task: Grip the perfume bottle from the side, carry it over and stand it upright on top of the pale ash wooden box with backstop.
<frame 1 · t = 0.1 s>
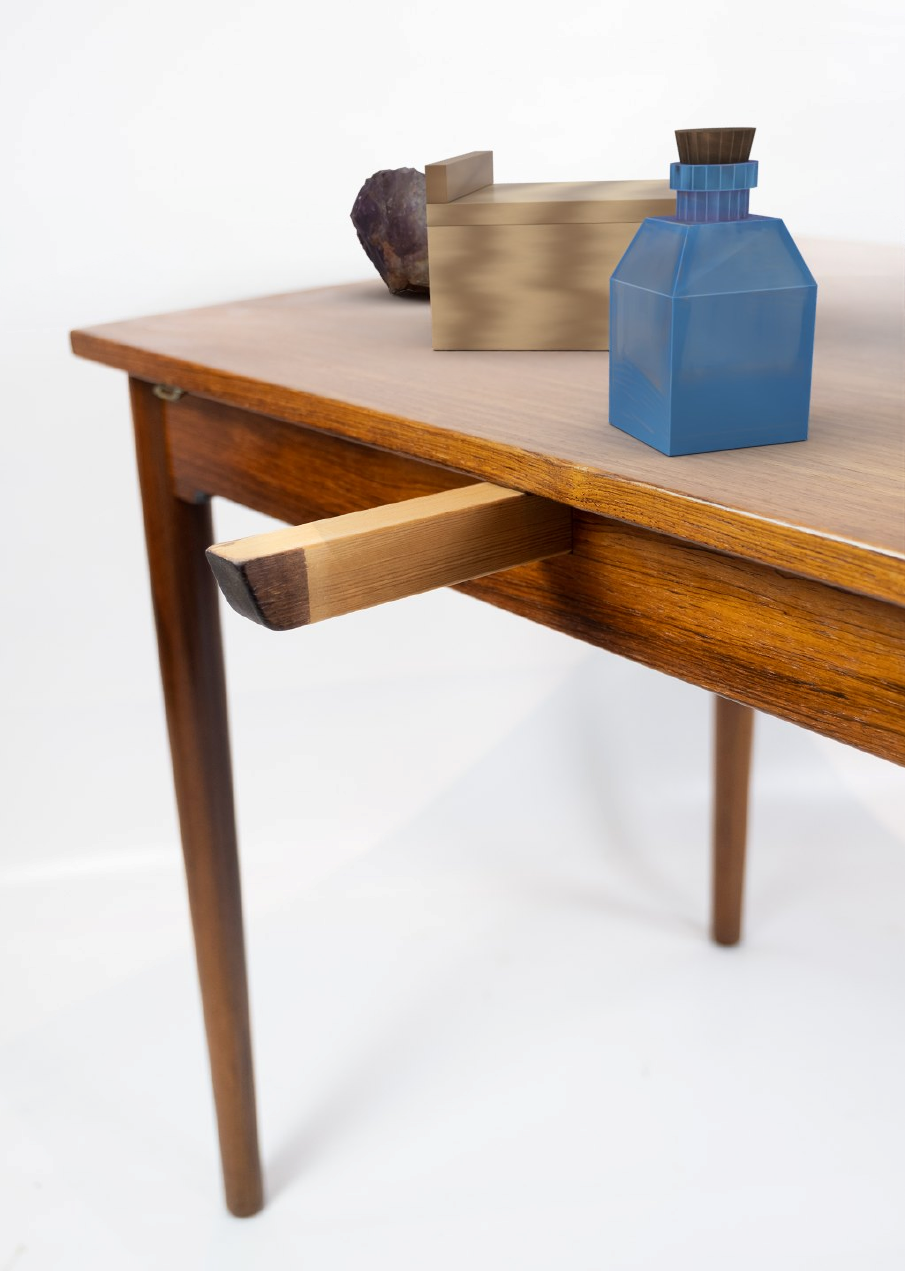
wooden box with backstop: (586, 328, 81), on the table
rock: (419, 295, 97), on the table
perfume bottle: (704, 435, 57), on the table
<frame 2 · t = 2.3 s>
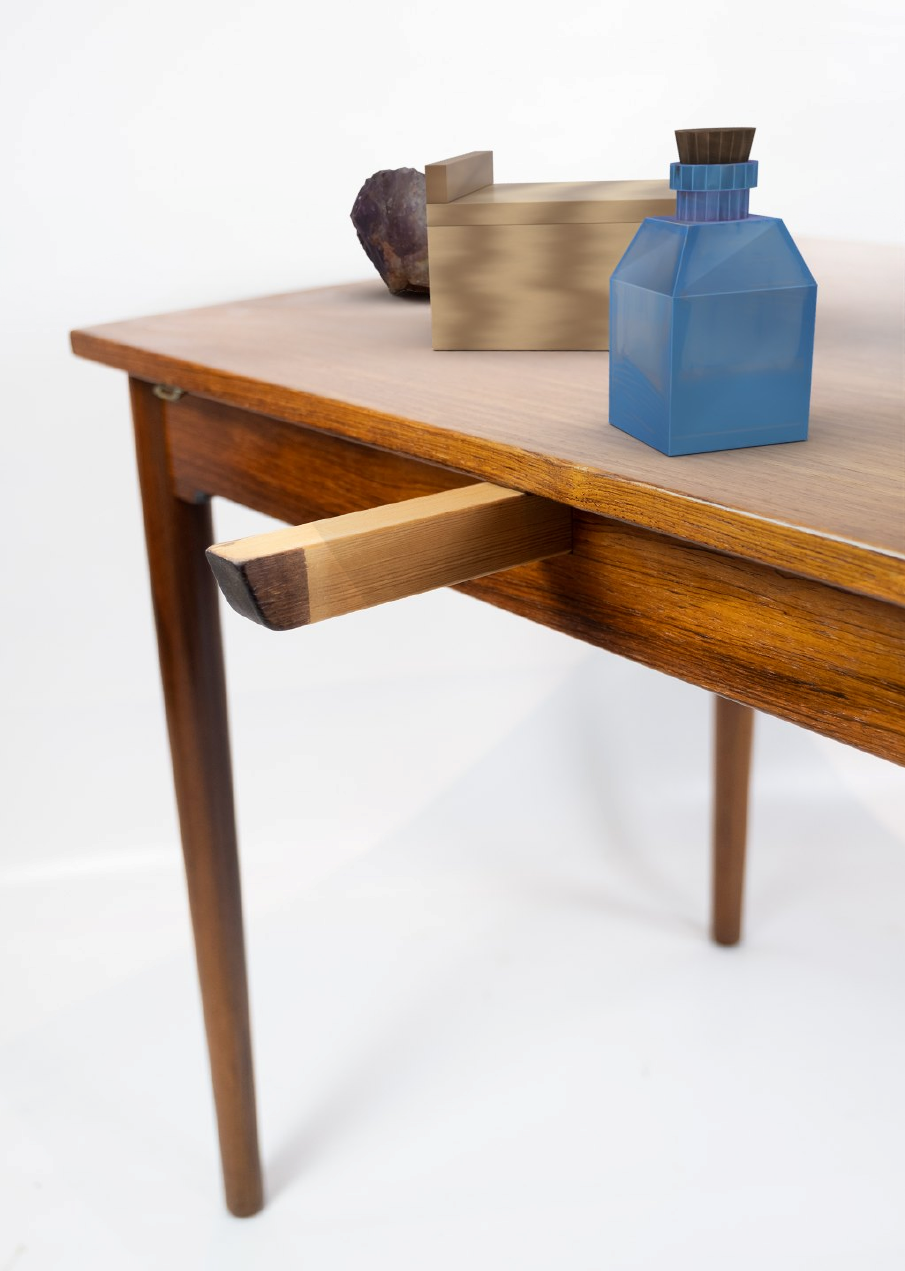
nothing on the table moved.
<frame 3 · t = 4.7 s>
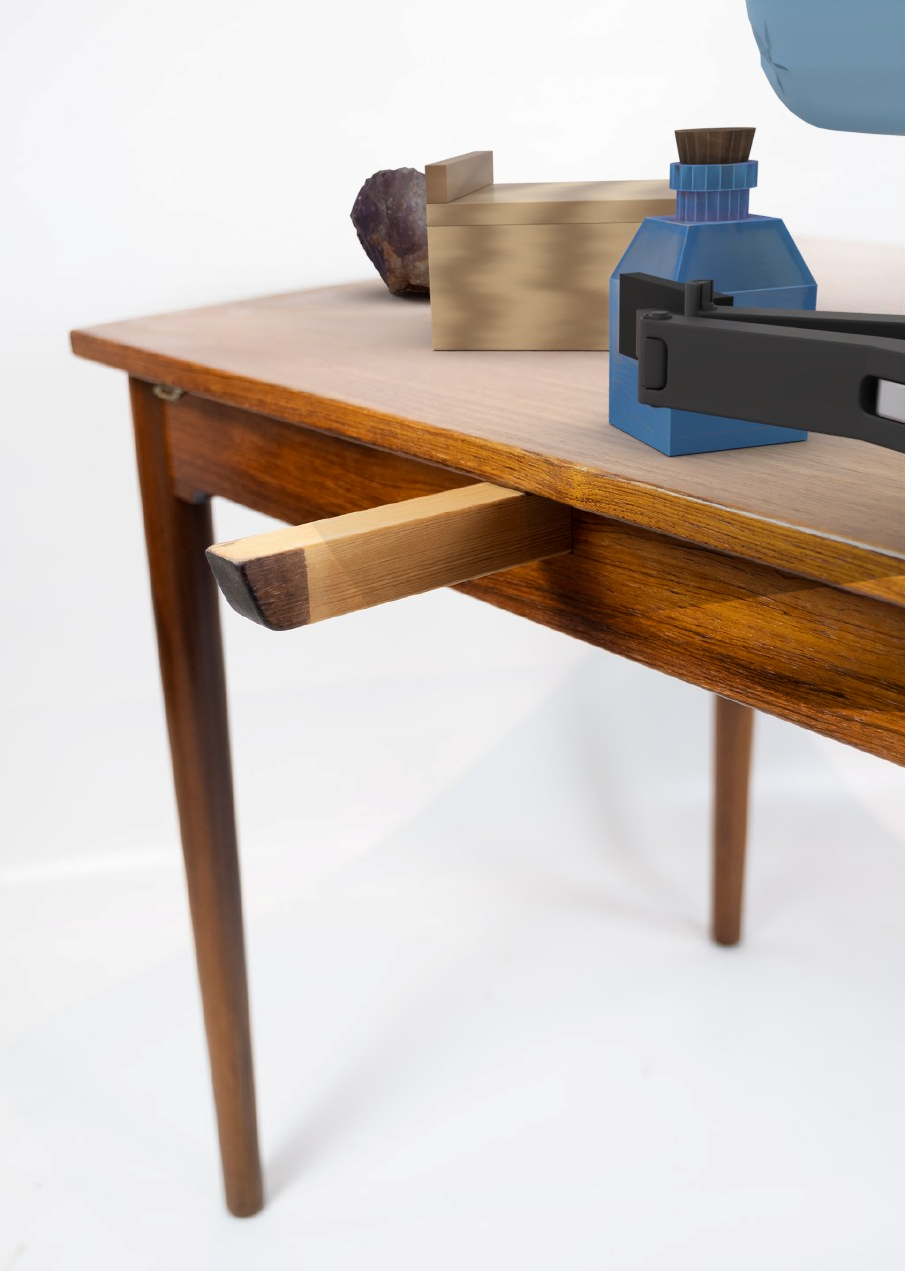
hand: (800, 296, 48), 6 cm above the table, tool horizontal, fingers open, 13 cm apart
nothing on the table moved.
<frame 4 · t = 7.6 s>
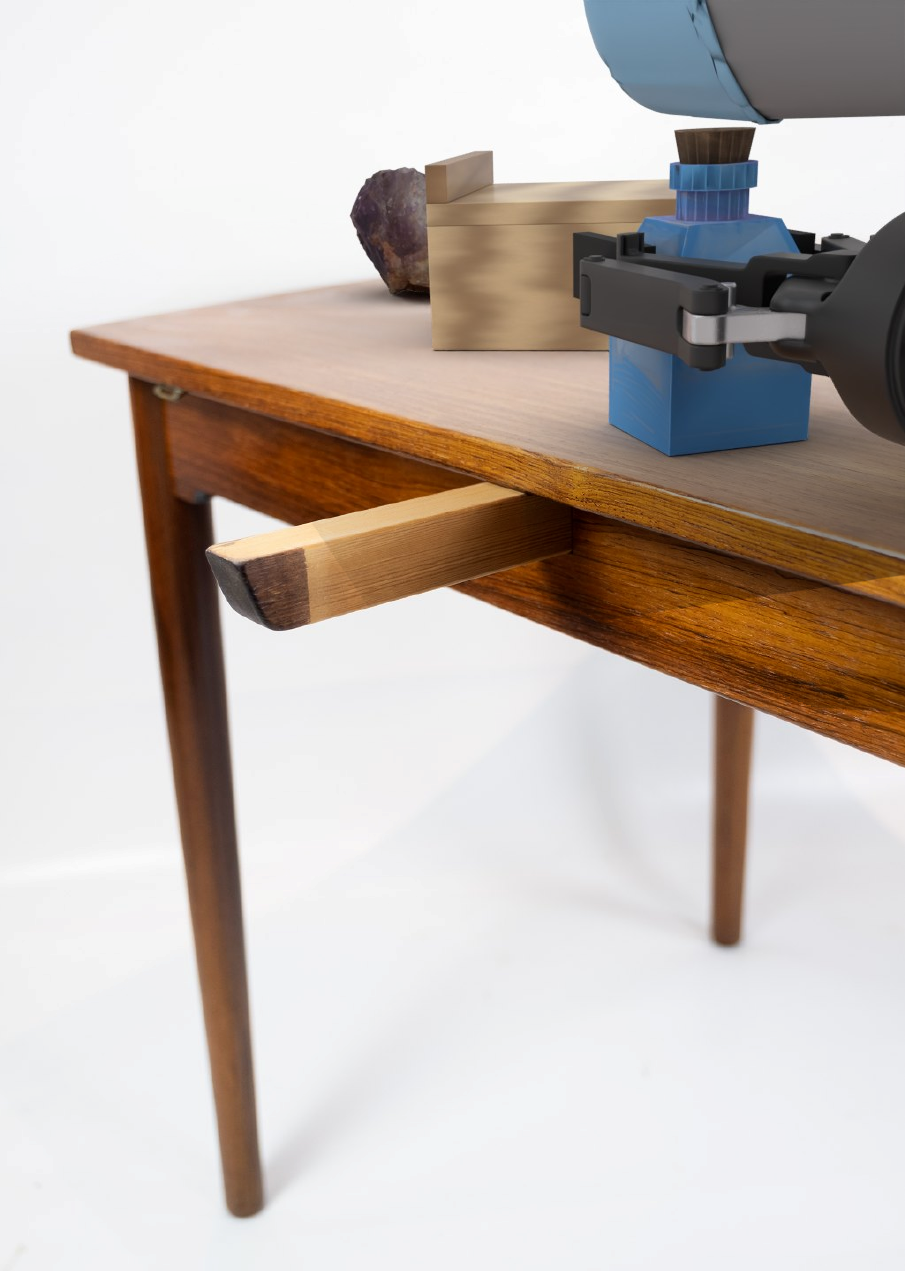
hand: (655, 258, 59), 7 cm above the table, tool horizontal, fingers closed on perfume bottle, 6 cm apart
perfume bottle: (704, 435, 57), on the table, touching gripper
everything else where it was.
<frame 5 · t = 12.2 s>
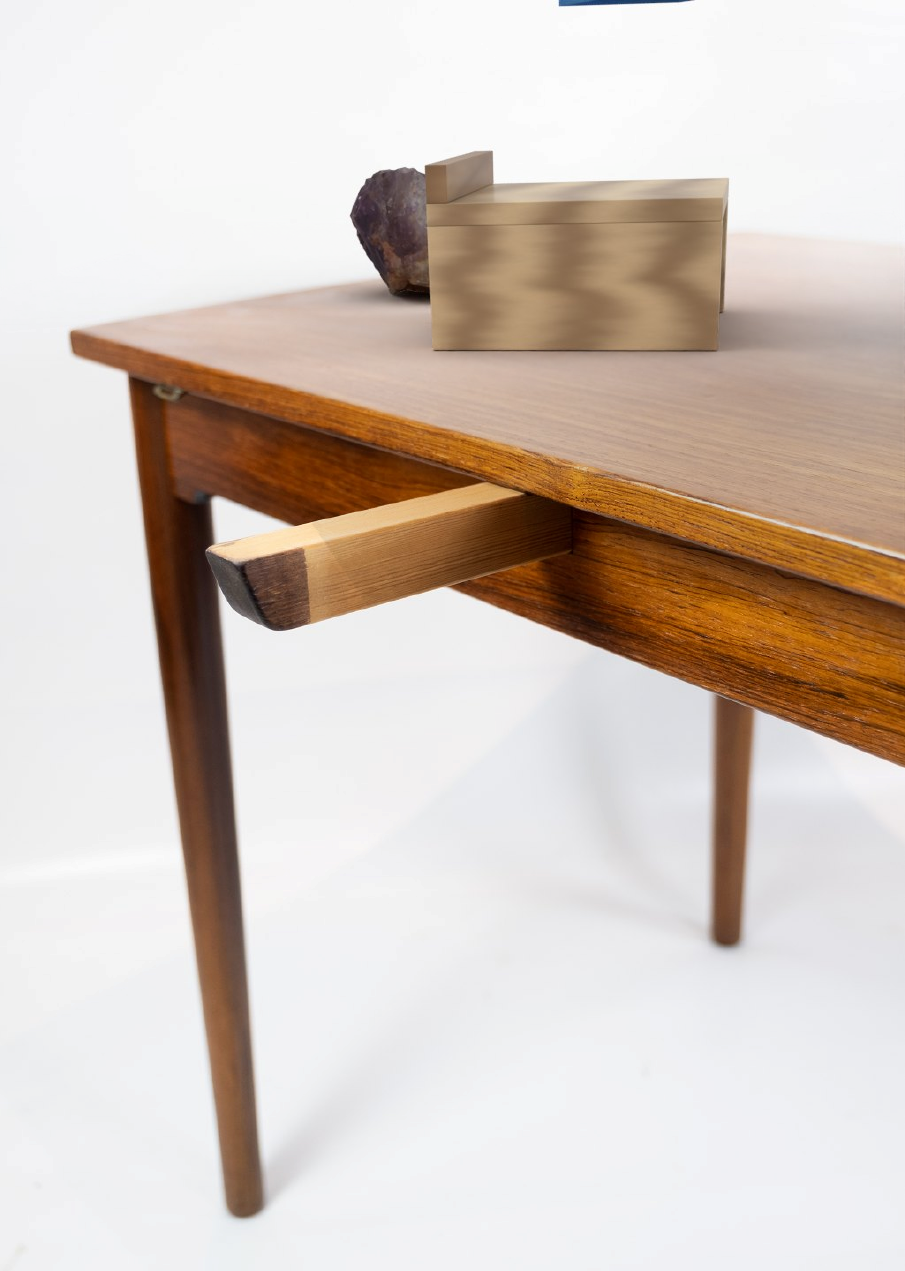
perfume bottle: (647, 5, 61), point 17 cm above the table, touching gripper
everything else where it was.
when the fingers open (15 cm above the table, at t = 17.0 s): perfume bottle stays where it is, resting on wooden box with backstop.
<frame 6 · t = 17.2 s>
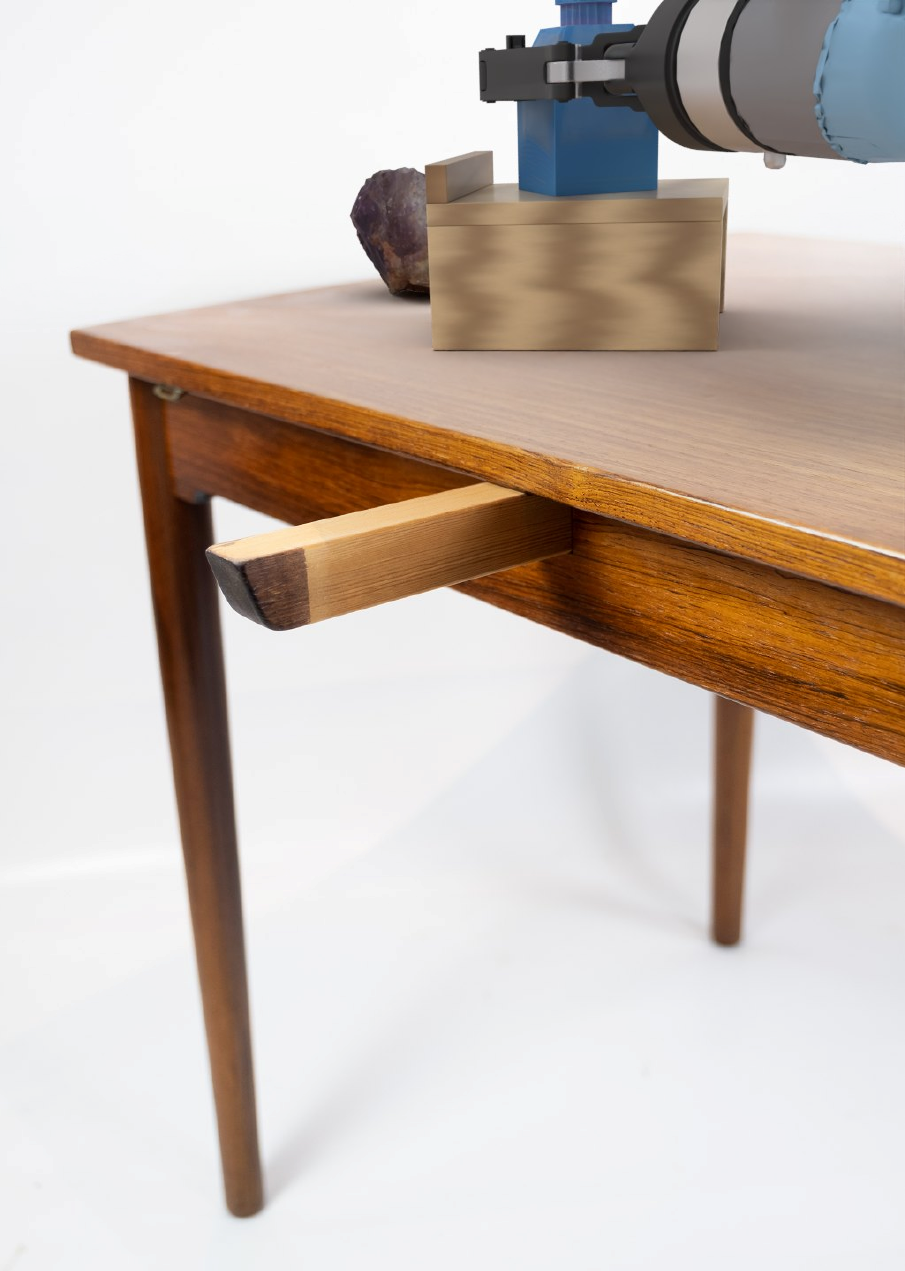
hand: (554, 73, 80), 14 cm above the table, tool horizontal, fingers open, 7 cm apart
perfume bottle: (586, 193, 78), point 8 cm above the table, touching wooden box with backstop
everything else where it was.
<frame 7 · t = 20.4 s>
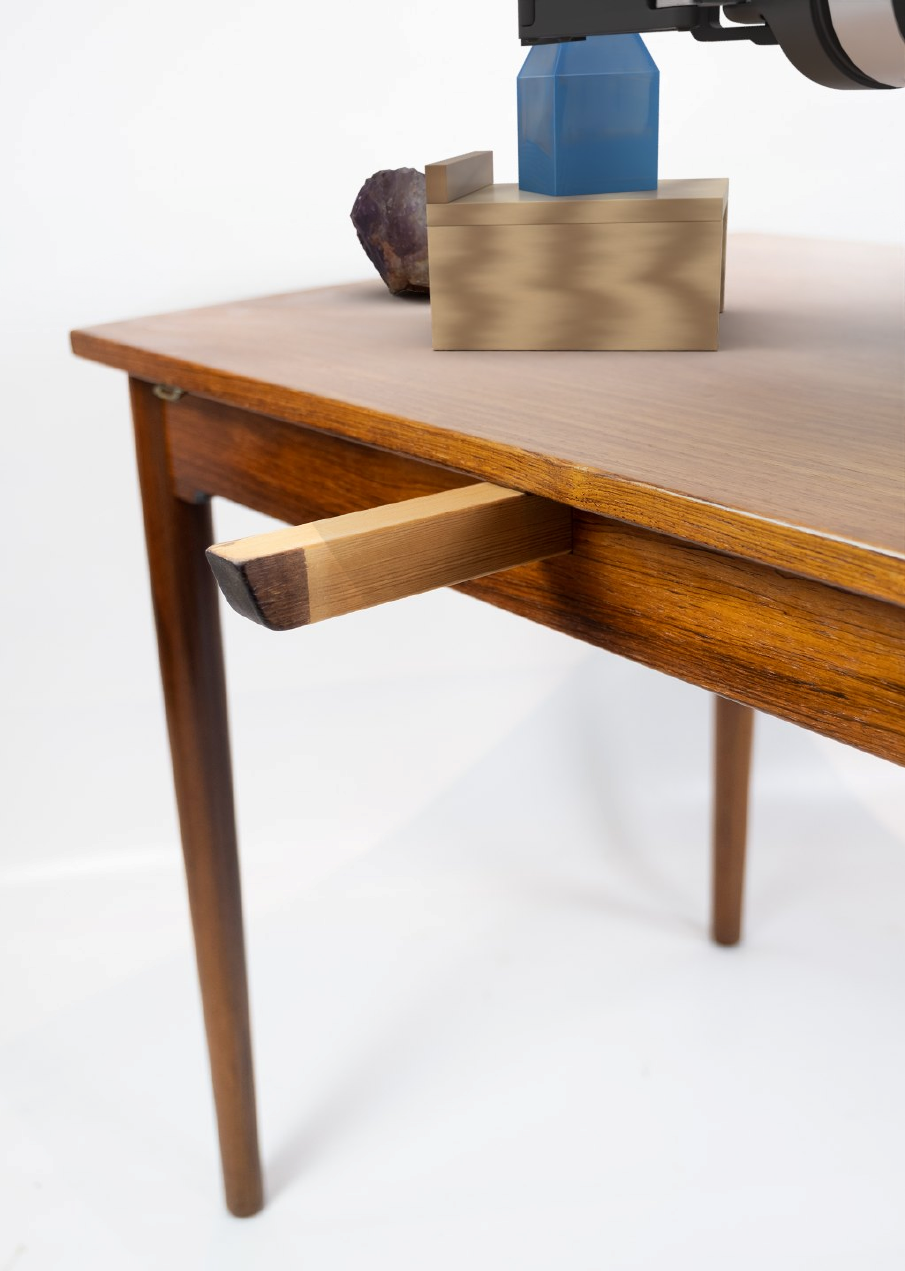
hand: (653, 12, 67), 17 cm above the table, tool horizontal, fingers open, 13 cm apart
nothing on the table moved.
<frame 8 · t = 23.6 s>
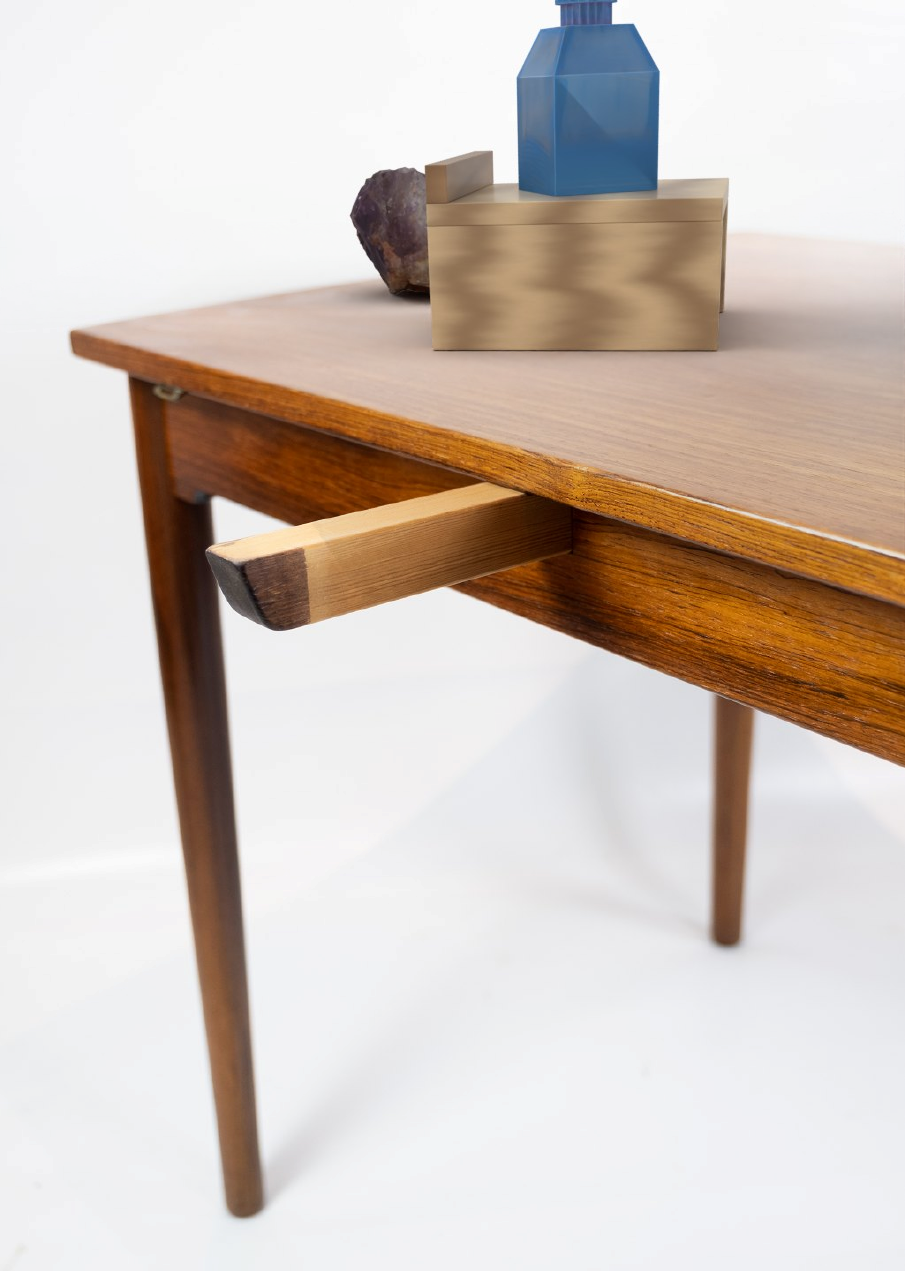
nothing on the table moved.
at the end: perfume bottle inside the target area on the wooden box with backstop (0.0 cm from its centre), point 7.8 cm above the wooden box with backstop's base; perfume bottle tilted 0°; the gripper is holding nothing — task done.
